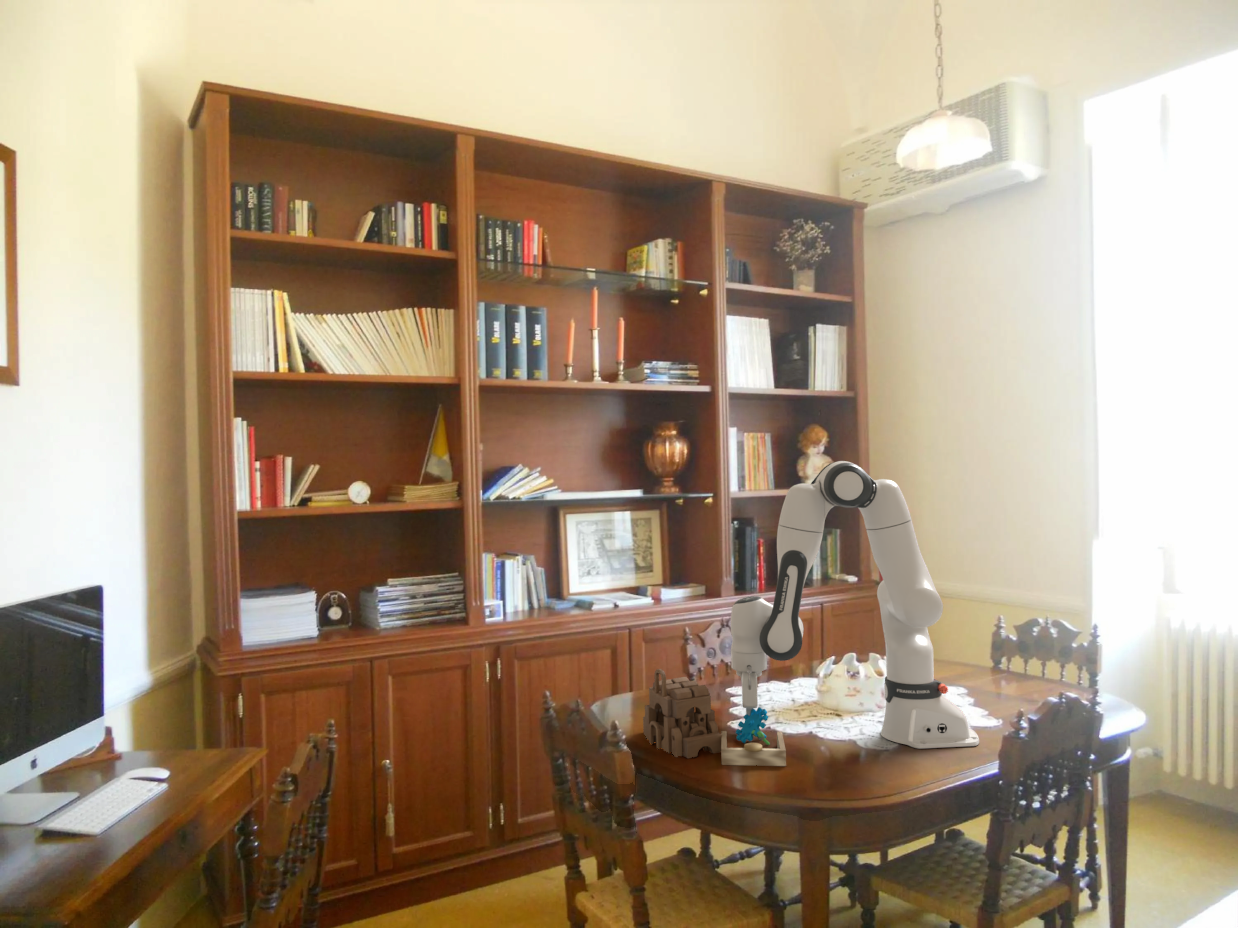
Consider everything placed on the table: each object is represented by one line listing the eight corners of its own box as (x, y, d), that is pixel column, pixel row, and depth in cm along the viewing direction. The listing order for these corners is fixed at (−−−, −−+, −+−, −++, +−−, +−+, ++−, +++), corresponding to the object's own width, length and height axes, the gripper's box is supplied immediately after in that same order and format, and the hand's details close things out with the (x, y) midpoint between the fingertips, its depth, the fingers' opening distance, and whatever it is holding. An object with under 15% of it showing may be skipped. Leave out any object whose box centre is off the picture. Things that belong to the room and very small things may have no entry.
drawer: (782, 746, 209) (781, 728, 209) (786, 768, 194) (786, 748, 194) (721, 745, 210) (721, 727, 210) (721, 766, 196) (721, 747, 196)
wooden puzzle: (730, 750, 207) (728, 672, 207) (676, 761, 201) (674, 680, 200) (684, 725, 227) (682, 654, 227) (633, 734, 221) (632, 661, 220)
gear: (729, 727, 218) (757, 699, 218) (745, 742, 219) (773, 713, 219) (741, 748, 207) (770, 718, 207) (758, 763, 209) (787, 733, 209)
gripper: (762, 671, 209) (763, 729, 209) (760, 652, 229) (761, 704, 229) (736, 671, 210) (737, 728, 210) (736, 652, 230) (737, 704, 230)
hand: (749, 715), depth 220 cm, fingers closed
